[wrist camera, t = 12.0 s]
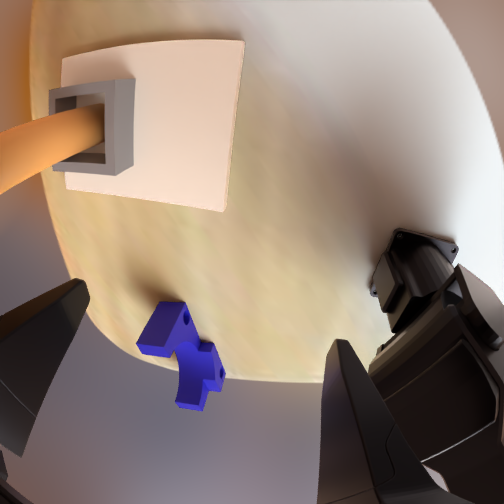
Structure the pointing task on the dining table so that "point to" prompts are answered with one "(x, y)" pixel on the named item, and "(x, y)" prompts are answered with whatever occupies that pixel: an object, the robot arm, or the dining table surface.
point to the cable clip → (183, 353)
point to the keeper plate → (156, 119)
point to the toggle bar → (48, 142)
